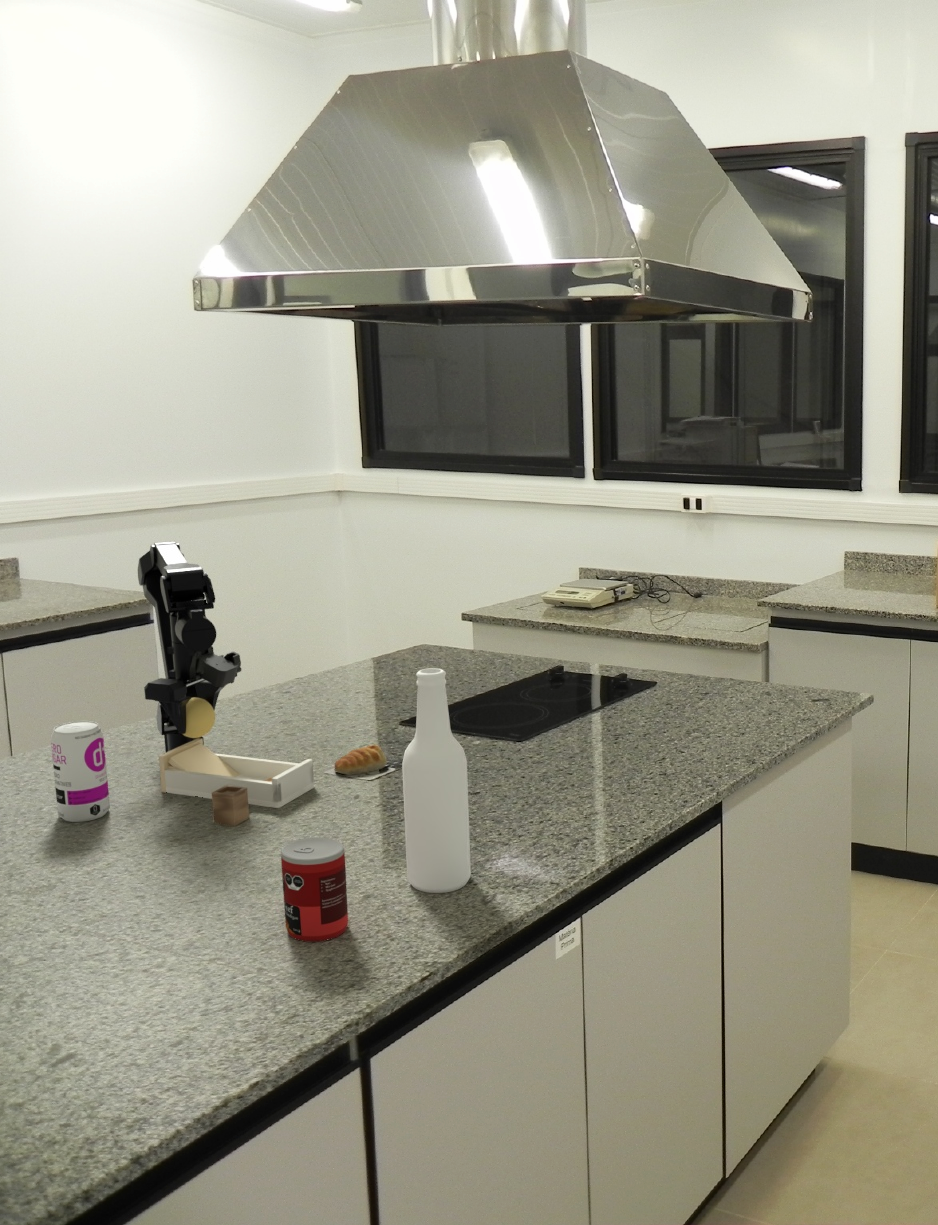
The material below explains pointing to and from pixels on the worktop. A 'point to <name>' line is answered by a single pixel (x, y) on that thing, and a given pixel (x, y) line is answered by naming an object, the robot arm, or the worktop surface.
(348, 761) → the pastry
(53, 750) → the supplement can
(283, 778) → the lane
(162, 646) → the robot arm
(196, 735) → the ball
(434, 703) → the alcohol
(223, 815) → the wooden square cup
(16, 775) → the worktop surface
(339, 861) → the canned food
